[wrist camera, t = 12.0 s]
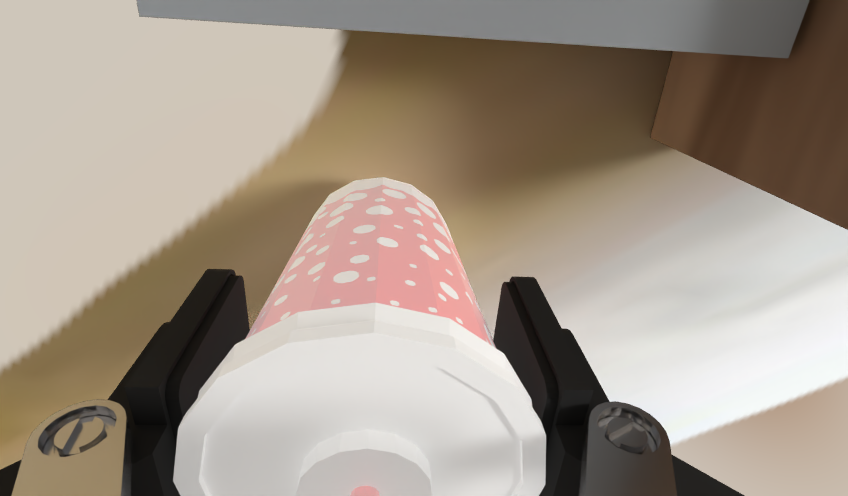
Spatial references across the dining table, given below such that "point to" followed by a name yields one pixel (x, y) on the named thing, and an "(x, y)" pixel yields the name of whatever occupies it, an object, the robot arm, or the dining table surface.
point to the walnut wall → (770, 114)
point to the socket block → (530, 20)
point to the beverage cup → (365, 372)
